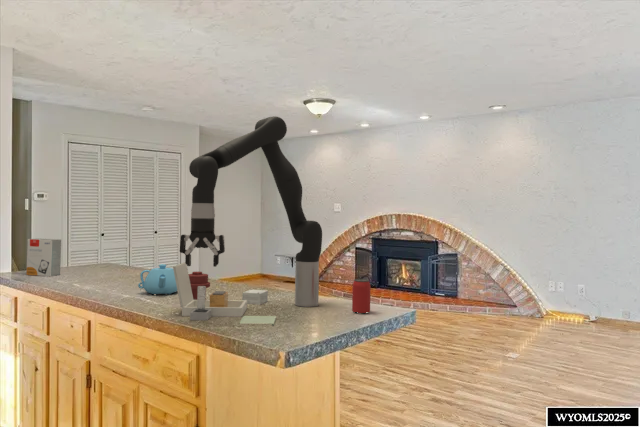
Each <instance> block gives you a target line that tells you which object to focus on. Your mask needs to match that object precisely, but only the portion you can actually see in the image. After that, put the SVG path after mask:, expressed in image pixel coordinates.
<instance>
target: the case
mask: <svg viewBox="0 0 640 427" xmlns="http://www.w3.org/2000/svg"><path fill="white" fill-rule="evenodd" d="M172 268H173V270H174V275H175V280H176V285H177V291H176V292H177V295H178V299H179V305H180V308H181V317H189V320H190V321H208V320H210V319H211V318H212V317H217V318H219V317H221V318H222V317H223V318H224V317H228V318H232V317H235V318H243V316H244V314H245V312H246V311H247V309H248V304H247V300H242V299H241V300H240V299H239V300H233V299H232V300H231V299H230V300H229V299H228V307H210V299H206V300H205V312H197V300H193V295H192V290H191V284H190V279H189V274H190V273H189V270H188V266H187V264H186V263H185V262H182V263H180V264H177V265H174V266H173V267H172Z"/></svg>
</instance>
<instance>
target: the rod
mask: <svg viewBox="0 0 640 427" xmlns="http://www.w3.org/2000/svg"><path fill="white" fill-rule="evenodd" d="M206 297H207V288H206V286H198V293H197V312H205V299H206V300H207V298H206Z"/></svg>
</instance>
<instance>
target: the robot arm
mask: <svg viewBox="0 0 640 427" xmlns="http://www.w3.org/2000/svg"><path fill="white" fill-rule="evenodd" d="M287 128H288V127H287V124H286V122H285V120H284V119H283V118H281V117H280V116H276V115H275V116H269V117H265V118H262V119H260V120H258V121H257V122H256V123H255V126H254V130H253V131H251V132H249V133H247V134H244V135H242V136H239V137H236V138H234V139H232V140H230V141H228V142H226V143H224V144H222V145H220V146H218V147H217V148H216V149H213V150H211V151H209V152H206V153H204V154H202V155H199V156H198V157H197V156H196V158H193V160H191V162H190V163H189V167H188V169H189V173H190V174H191V176H192V177H194V178H196V179H197V181H196V182H197V183H196V185H195V186H193V188H192V191H191V192H192V193H191V194H192V196H191V209H190V212H191V213H190V234H185V233H184V234H181V235H180V242H179V243H180V244H179V253H181V254H184V256H185V260H184V261H185V263H186V264H187V267H191V266H192V254H191V253H192V252H193V251H194V250H195V248H197V249H201V248H202V249H208V248H209V250H211V252H212V253H213V267H217V266H219V263H220V262H219V260H220V259H219V258H220V255H221V254H224V253H225V249H226V248H225V236H224V234H220V235H216V234H215V220H216V219H215V217H216V213H215V210H216V209H215V189H216V184H217V181H218V176H219V170H220V169H222V168H223V169H224V168H226V167H228V166H231V165H233V164H234V163H235V162H237V161H240V160H241V159H243V158H244V157H246V156H248V155H249V154H251V153H252V152H254V151H256V150H258V149H260V148H261V150H262V152H263V153H264V156H265V159H266V160H267V164H268V166H269V168H270V171H271V174H272V176H273V180H274V183H275V186H276V188H277V191H278V193H279V195H280V198H281V201H282V204H283V206H284V210H285V211H286V216H287V219H288V223H289V227H290V231H291V234H292V237H293V239H294V240H295V242H298V243H300V244H301V245H302V246H301V250H300V251H299V252H297V253H296V254H295V272H294V274H295V276H294V278H295V280H294V305H295V306H297V307H306V308H307V307H308V308H309V307H310V308H311V307H318V306H319V296H320V294H319V293H320V292H319V290H320V288H319V286H320V282H319V276H320V275H319V272H320V256H321V253H322V245H323V244H322V243H323V230H322V226H321V225H320V223H319V222H317V220H307V218H306V215H305V213H304V211H303V206H302V200H303V186H302V181H301V179H300V176H299V173H298V171H297V169H296V167H295V166H294V165H293V164H292V163H291V162H290V160H288V158H287V157H286V156H285V155H284V153H283V152H282V149H281V147H280V145H279V141H281V140H282V139H283V138H285V136H286V135H287V132H288V129H287ZM189 240H190V242H191V244H190V245H189V247H188V248H187V249H186V247H187V246H186V245H187V244H186V243H187V242H188V241H189ZM215 240H217V242H218V243H219V244H218V246H219V249H217V247H216V245H215V244H214V242H215Z"/></svg>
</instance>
